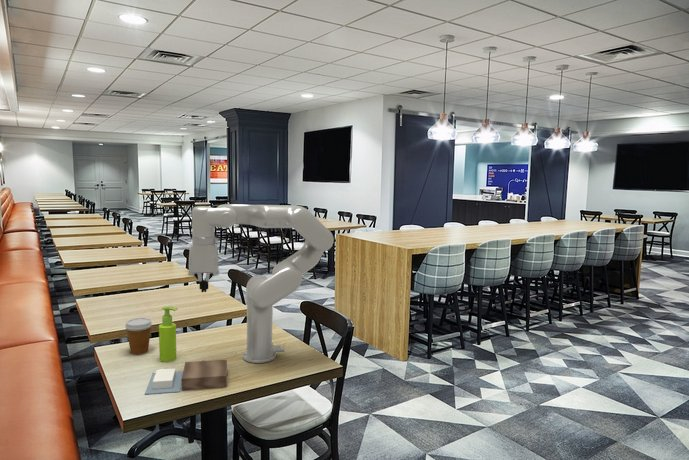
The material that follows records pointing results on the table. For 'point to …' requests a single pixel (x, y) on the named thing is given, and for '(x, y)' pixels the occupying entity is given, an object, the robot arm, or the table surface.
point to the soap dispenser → (167, 336)
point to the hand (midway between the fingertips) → (204, 291)
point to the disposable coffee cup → (138, 335)
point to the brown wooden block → (204, 374)
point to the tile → (164, 378)
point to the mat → (174, 389)
